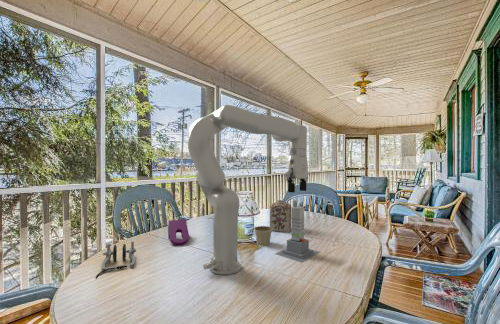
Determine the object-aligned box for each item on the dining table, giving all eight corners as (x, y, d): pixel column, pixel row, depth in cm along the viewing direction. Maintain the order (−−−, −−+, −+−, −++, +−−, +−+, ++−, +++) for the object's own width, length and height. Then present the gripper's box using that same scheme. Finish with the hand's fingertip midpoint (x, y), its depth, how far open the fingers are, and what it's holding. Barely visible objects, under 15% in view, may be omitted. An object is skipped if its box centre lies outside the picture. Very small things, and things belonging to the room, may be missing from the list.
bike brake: (103, 257, 111) (95, 284, 93) (103, 242, 110) (95, 267, 92) (137, 253, 116) (136, 278, 98) (137, 239, 115) (136, 261, 97)
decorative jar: (269, 231, 155) (269, 201, 155) (273, 226, 166) (273, 198, 166) (289, 232, 152) (289, 202, 152) (291, 227, 163) (291, 199, 163)
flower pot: (250, 246, 127) (250, 229, 127) (258, 241, 135) (258, 225, 135) (267, 250, 122) (268, 232, 122) (275, 244, 131) (275, 227, 131)
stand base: (302, 265, 105) (302, 246, 105) (274, 256, 114) (274, 239, 114) (320, 254, 117) (320, 237, 117) (294, 247, 126) (294, 231, 126)
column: (299, 241, 112) (299, 208, 112) (291, 239, 115) (291, 207, 115) (304, 239, 115) (304, 207, 115) (296, 237, 118) (296, 206, 118)
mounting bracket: (189, 254, 133) (185, 230, 148) (190, 241, 130) (186, 219, 145) (170, 256, 130) (167, 232, 145) (170, 243, 126) (168, 220, 142)
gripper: (294, 152, 106) (294, 193, 106) (314, 153, 119) (314, 190, 119) (279, 152, 111) (279, 192, 111) (300, 154, 124) (300, 189, 124)
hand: (297, 191), depth 115 cm, fingers open, 9 cm apart
